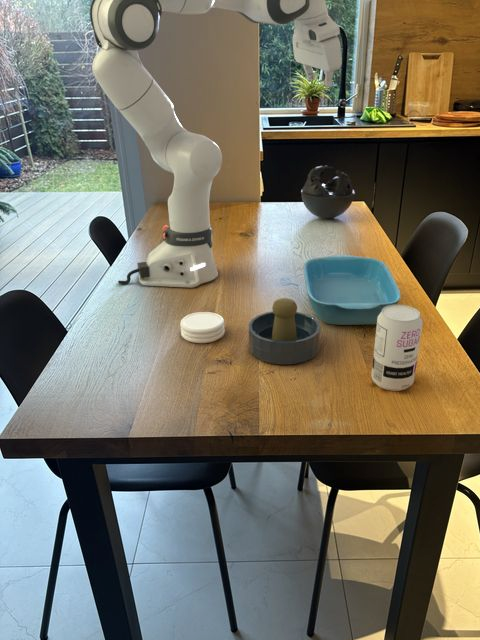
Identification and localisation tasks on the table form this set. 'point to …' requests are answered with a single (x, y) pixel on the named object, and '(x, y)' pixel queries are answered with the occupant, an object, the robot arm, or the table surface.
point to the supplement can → (396, 347)
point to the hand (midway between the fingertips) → (319, 83)
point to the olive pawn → (284, 320)
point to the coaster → (202, 327)
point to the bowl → (284, 350)
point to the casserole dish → (349, 289)
